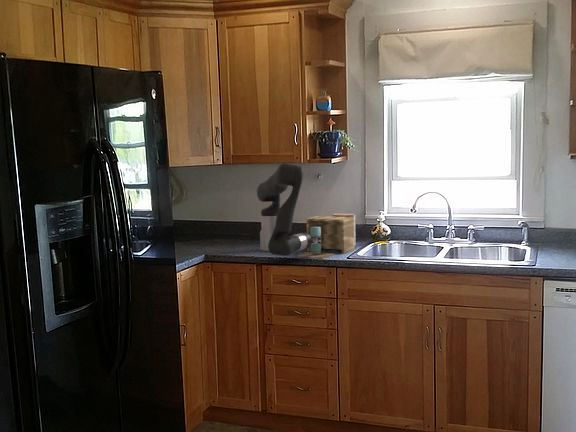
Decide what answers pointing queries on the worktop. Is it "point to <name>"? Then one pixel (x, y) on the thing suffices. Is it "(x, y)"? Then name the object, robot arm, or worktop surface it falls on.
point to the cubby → (334, 232)
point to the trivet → (315, 255)
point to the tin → (317, 232)
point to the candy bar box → (347, 216)
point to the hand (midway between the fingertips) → (317, 237)
